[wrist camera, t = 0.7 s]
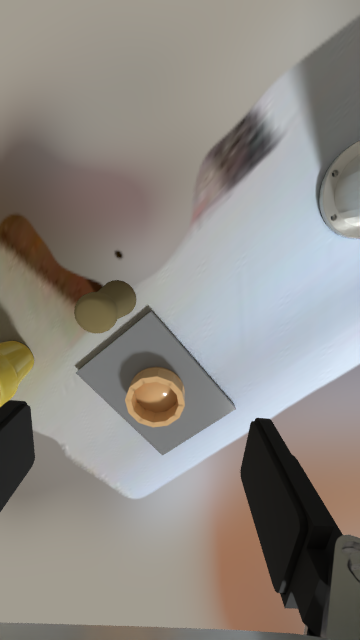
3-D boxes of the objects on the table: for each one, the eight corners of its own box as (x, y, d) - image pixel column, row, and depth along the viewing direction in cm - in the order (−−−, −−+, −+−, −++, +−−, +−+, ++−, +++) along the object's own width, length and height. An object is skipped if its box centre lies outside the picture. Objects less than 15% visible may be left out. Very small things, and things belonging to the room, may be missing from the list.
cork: (100, 314, 38) (67, 337, 27) (99, 278, 36) (64, 288, 25) (135, 317, 38) (116, 342, 27) (136, 282, 36) (117, 293, 25)
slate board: (151, 310, 37) (150, 311, 36) (234, 405, 42) (235, 408, 41) (78, 370, 41) (75, 372, 40) (163, 451, 46) (162, 455, 45)
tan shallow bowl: (160, 356, 38) (157, 365, 35) (195, 395, 41) (196, 407, 37) (118, 387, 40) (113, 398, 37) (154, 422, 43) (152, 436, 39)
